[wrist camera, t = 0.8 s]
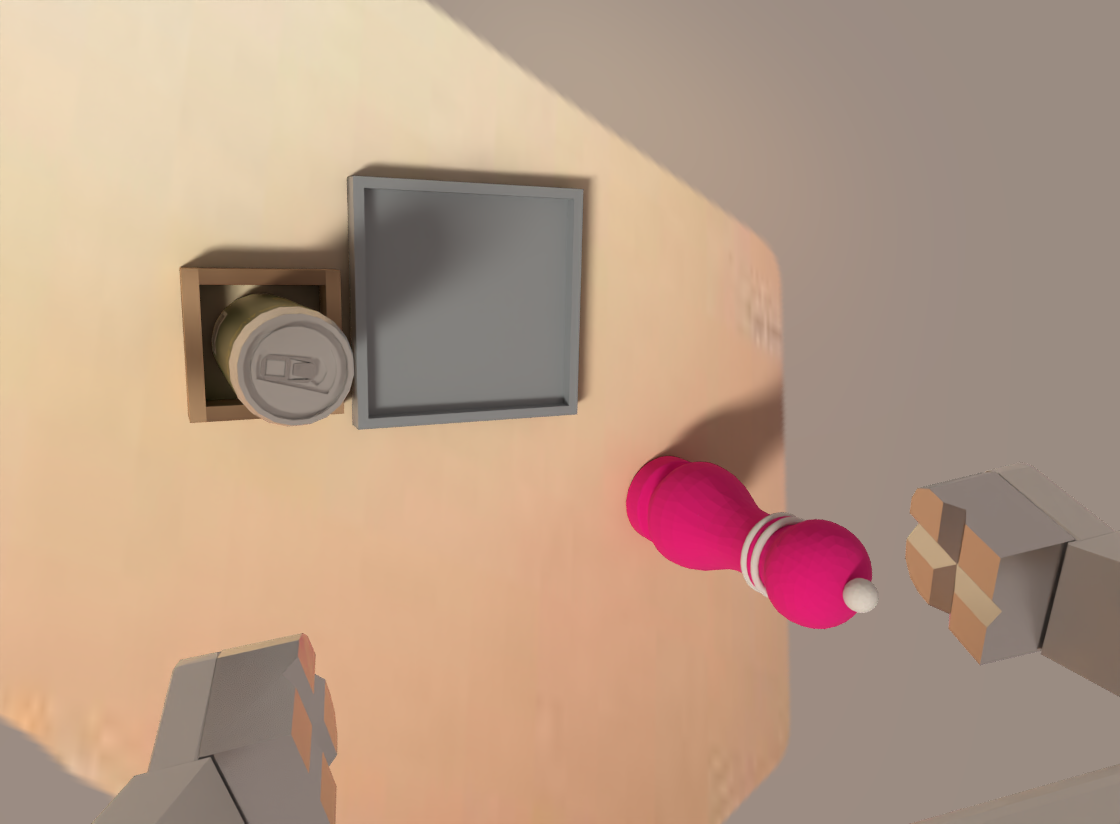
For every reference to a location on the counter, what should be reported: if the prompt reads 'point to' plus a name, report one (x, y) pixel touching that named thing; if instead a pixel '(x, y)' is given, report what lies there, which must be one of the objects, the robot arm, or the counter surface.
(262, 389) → the beer can
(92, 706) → the counter surface
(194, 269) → the can holder
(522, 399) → the tray
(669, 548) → the pepper mill
